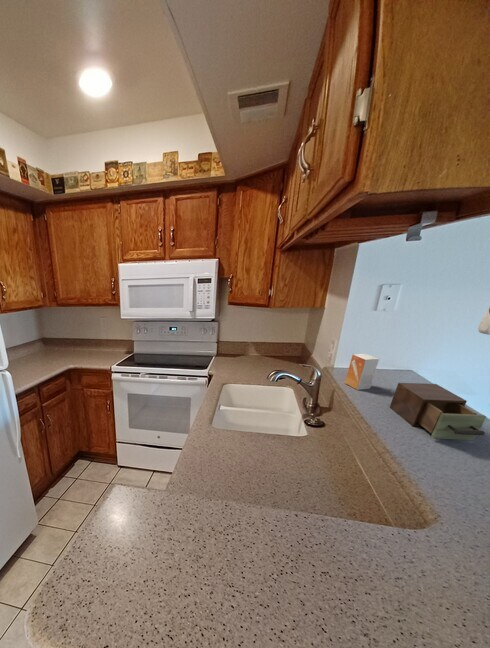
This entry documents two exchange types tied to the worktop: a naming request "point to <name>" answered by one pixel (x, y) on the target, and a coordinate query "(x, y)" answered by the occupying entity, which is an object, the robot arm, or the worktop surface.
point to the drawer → (451, 421)
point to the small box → (361, 371)
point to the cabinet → (419, 399)
